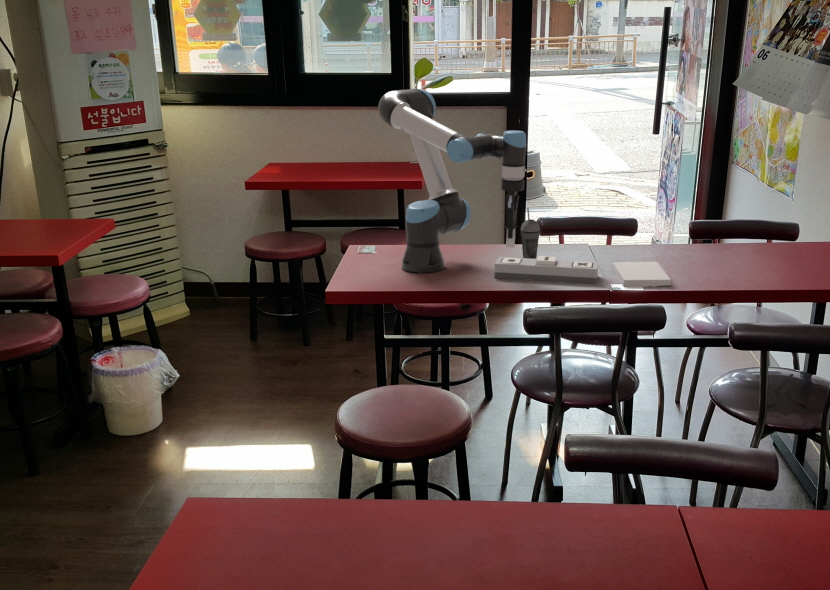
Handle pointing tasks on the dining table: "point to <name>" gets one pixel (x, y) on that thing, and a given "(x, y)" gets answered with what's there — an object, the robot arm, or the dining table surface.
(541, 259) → the bar
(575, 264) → the key cross
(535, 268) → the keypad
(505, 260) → the block
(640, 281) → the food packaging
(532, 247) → the beverage cup
